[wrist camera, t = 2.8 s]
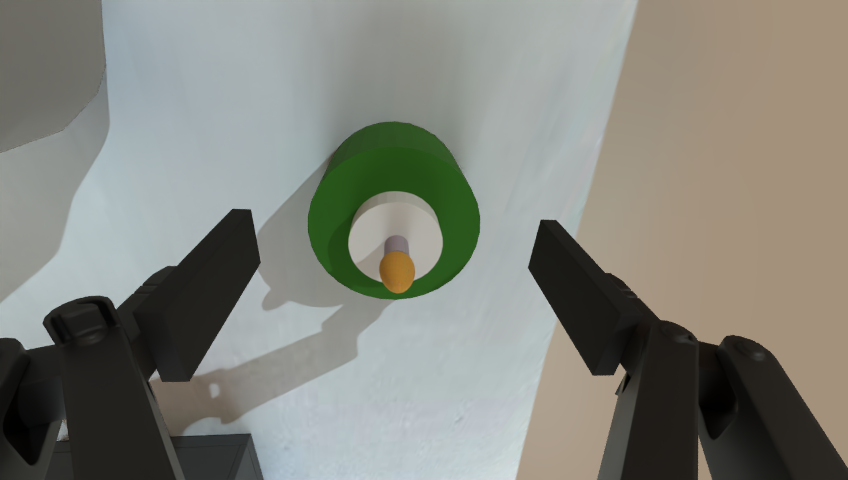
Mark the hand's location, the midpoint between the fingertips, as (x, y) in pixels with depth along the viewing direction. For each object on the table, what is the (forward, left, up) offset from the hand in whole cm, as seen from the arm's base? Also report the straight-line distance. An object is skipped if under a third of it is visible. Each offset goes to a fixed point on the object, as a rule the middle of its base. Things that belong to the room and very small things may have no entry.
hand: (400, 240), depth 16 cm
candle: (0, 0, -7) cm, 7 cm away
